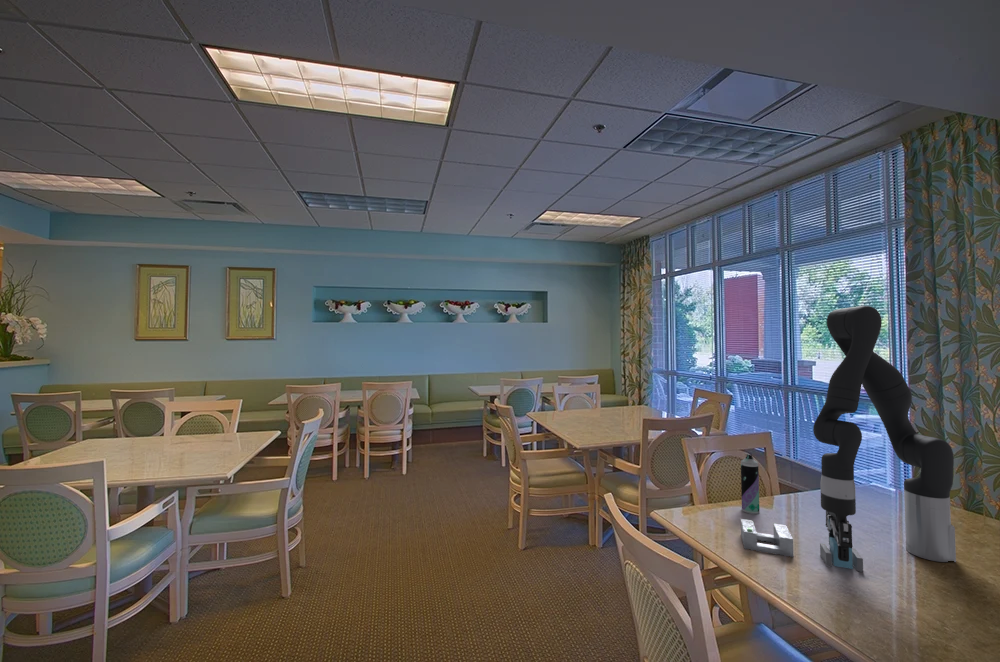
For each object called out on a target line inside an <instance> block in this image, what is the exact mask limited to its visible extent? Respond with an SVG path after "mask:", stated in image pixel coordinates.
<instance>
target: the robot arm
mask: <svg viewBox="0 0 1000 662" xmlns="http://www.w3.org/2000/svg"><path fill="white" fill-rule="evenodd" d="M882 324H883V323H882V315H881V314H880V312H879V310H877V308H875V307H873V306H870V305H858V306H853V307H852V306H851V307H844V308H838V309H834V310H832V311H830V312H829V313H828V315H827V318H826V327H827V330H828V332H829V334H830V336H831V337H832V338H833V340H834V342H835V343H836V345H837V346H838V347H839V349H840V350H841V352H842V353H843V354H844V356H845V357H844V358H843V359H842V361H841V362H840V364H839V365H838V366H837V367H836V369H835V370H834V372H832V375H831V376H830V379H829V381H828V387H827V392H826V400H825V402H824V404H823V406H822V408H821V410H820V412H819V413H818V416H817V417H816V419H815V421H814V424H813V426H812V427H813V435H814V438H815V439H816V440H817V441H818V442H820V443H823V444H826V445H827V444H828V445H831V446H835V447H836V446H837V447H838V450H837V452H836V453H835V452H828V453H823V454H822V455H821V463H820V464H821V466H820V467H821V476H820V477H821V478H820V507H821V508H822V509H823V510H824V511H825V527H826V530H827V532H828V538H829V537H832V538H835V537H836V538H837V544H838V559H839V560H841V561H846V562H848V561H849V548H854V546H853V530H852V529H853V526H852V524H851V523H850V521H849V520H848V519H847V518H848V516H853V515H854V516H855V515H856V512H857V511H856V510H857V508H856V507H857V505H856V504H857V503H856V499H857V498H856V497H857V496H856V484H855V469H854V468H855V463H856V459H857V455H858V452H859V450H860V449H859V448H860V446H861V444H862V440H863V434H862V430H861V429H860V427H859V426H858V425H857V424H856V423H854V422H852V421H848V420H847V421H846V420H840V417H841V416H842V415H844V414H845V415H846V414H854V413H856V412H857V411H858V407H859V404H860V396H861V390H862V387H863V389H864V391H865V392H866V395H867V396H868V398H869V401H871V403H872V405H873V406H874V409H875V410H876V412H877V414H878V416H879V419H880V420H881V422H882V424H883V426H884V428H885V431H886V433H887V436H888V438H889V441H890V444H891V446H892V449H893V451H894V452H895V455H896V456H897V457H898V459H899V460H900V461H902V462H903V463H904V464H907V465H908V466H913V467H916V468H920V474H919V477H909V478H906V479H905V480H904V482H903V492H904V493H903V494H904V495H903V497H904V498H903V499H904V523H905V524H904V525H905V528H904V529H905V548H906V551H907V552H909V553H910V554H911V555H914V556H915V557H919V558H922V559H925V560H929V561H933V562H938V563H949V562H948V561H954V562H953V563H956V562H957V553H956V552H957V550H956V528H955V526H954V525H952V521H951V520H952V518H951V517H952V515H951V489H952V487H953V485H954V465H955V464H954V463H955V462H954V460H955V459H954V458H955V457H954V451H953V449H952V446H951V445H950V444H949V442H947V441H946V440H945V439H944V440H943V439H941V438H937V437H933V436H928V435H923V434H919V433H918V432H917V431H916V430H915V429H914V426H913V425H912V423H911V421H910V418H909V411H910V408H911V405H912V401H913V394H912V391H911V389H910V388H909V385H908V383H907V381H906V380H905V378H904V377H903V374H902V373H901V372H900V370H898V369H897V368H896V367H895V366H894V365H893V364H891V363H890V362H889V361H888V360H886V359H885V358H883V357H882V356H880V355H879V354H877V353H876V352H875V351H874V349H875V346H876V344H877V341H878V339H879V336H880V332H881V330H882ZM834 536H835V537H834ZM843 538H845V539H846V542H843Z"/></svg>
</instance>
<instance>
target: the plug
mask: <svg viewBox="0 0 1000 662" xmlns="http://www.w3.org/2000/svg"><path fill="white" fill-rule="evenodd" d="M834 537H835V536H834ZM843 542H846V539H845V538H843ZM828 545H829V551H830V552H831V556H832V564H833V565H832V566H834V567H839V568H845V569H846V568H847V569H852V570H853V569H854V568H853V567H854V565H853V561H852V548H853V547H852V548H849V561H848V562H846V561H841V560H839V559H838V544H837V538H836V537H835V538H832V537H829V536H828Z"/></svg>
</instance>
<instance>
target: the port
mask: <svg viewBox="0 0 1000 662" xmlns="http://www.w3.org/2000/svg"><path fill="white" fill-rule="evenodd" d="M772 525H773V534H769V533H762V532H757V528H756V527H755V523H754V521H753V520H751V519H746V518H740V536H741V541H742V544H743V548H744V550H747V549H751V550H750V551H753V550H756V551H755V552H759V551H761V553H765V552H768V553H767V554H771V553H774V554H773V555H777V554H780V555H779V556H783V555H784V557H789V556H790V558H791V557H792V558H794V539H793V536H792V534H791V531H790V530H789V528H788V526H787V525H786V524H780V523H773V524H772ZM758 540H761V541H760V542H761V543H760V542H758ZM764 541H766V542H765V543H762V542H764ZM770 542H771V543H772V544H767V543H770ZM774 544H775V545H774Z"/></svg>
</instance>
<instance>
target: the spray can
mask: <svg viewBox="0 0 1000 662" xmlns="http://www.w3.org/2000/svg"><path fill="white" fill-rule="evenodd" d="M759 475H760V473H759V462H758V461H756V460H755V458H754V457H753V455H752V454H748V453H747V454H746V456H745V457H744V459H741V460H740V482H741V483H740V485H741V486H740V487H741V493H740V494H741V495H740V496H741V511H742V512H744V513H746V514H749V515H750V514H751V515H759V514H760V480H759V479H760V476H759Z"/></svg>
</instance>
